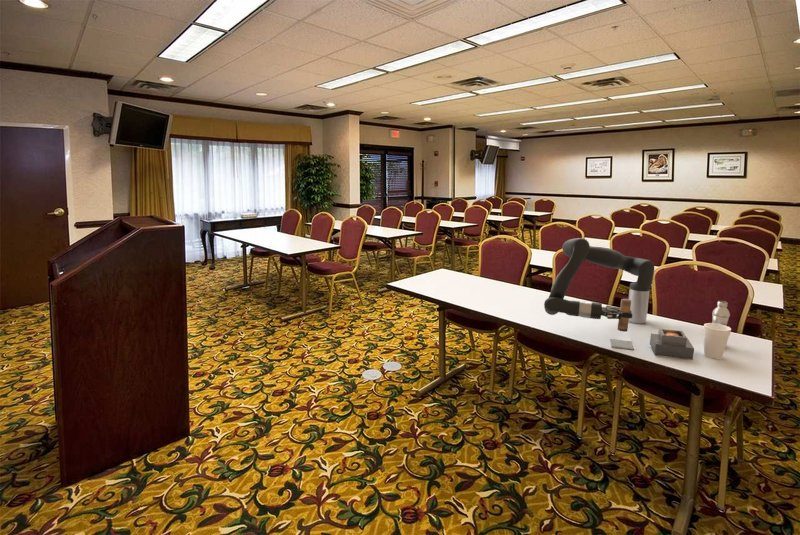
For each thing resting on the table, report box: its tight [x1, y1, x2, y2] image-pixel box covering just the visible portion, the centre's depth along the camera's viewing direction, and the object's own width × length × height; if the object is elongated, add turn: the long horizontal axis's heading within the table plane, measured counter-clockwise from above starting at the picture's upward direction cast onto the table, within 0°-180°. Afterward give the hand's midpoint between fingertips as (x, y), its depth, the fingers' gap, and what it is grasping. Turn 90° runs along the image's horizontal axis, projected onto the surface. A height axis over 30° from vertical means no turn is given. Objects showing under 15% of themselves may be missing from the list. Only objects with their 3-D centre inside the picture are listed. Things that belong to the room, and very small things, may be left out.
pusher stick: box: [617, 298, 631, 333], centre depth 199 cm, size 4×4×14 cm
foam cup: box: [702, 322, 732, 360], centre depth 187 cm, size 10×9×13 cm
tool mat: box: [609, 338, 635, 351], centre depth 201 cm, size 10×9×1 cm
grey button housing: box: [649, 328, 695, 361], centre depth 193 cm, size 14×14×8 cm
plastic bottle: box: [711, 300, 731, 326], centre depth 200 cm, size 6×7×20 cm
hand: (631, 314), depth 197 cm, fingers closed on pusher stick, 4 cm apart
